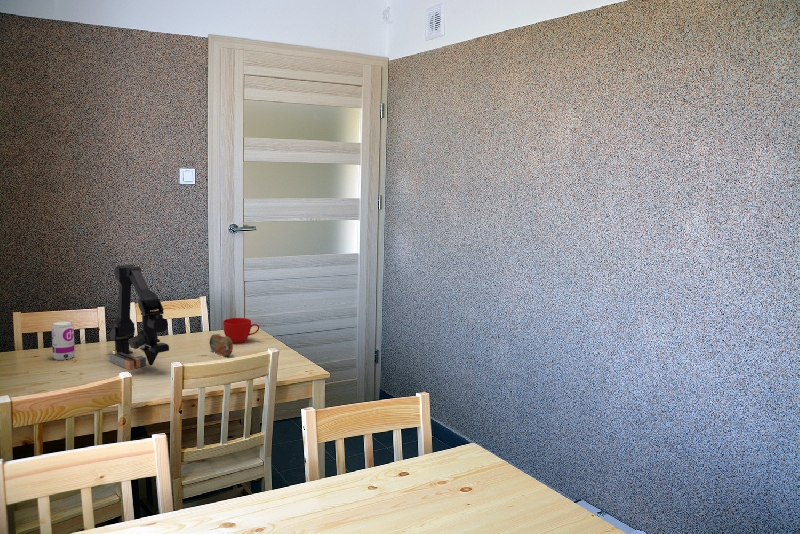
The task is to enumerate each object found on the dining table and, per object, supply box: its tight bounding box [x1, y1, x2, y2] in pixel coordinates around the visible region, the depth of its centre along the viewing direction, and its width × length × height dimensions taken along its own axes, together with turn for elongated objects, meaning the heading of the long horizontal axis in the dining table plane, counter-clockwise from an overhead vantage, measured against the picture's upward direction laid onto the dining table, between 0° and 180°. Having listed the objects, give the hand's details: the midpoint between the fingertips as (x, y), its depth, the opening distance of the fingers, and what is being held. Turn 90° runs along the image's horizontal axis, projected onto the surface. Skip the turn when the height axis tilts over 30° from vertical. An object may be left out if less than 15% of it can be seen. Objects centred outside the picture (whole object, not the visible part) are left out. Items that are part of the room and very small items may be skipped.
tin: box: [209, 333, 234, 357], centre depth 298 cm, size 15×3×8 cm, turn 47°
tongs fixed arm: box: [109, 349, 135, 371], centre depth 278 cm, size 18×3×4 cm, turn 50°
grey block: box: [135, 355, 147, 368], centre depth 277 cm, size 4×3×3 cm
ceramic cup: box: [222, 317, 260, 344], centre depth 319 cm, size 13×17×10 cm
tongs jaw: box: [117, 352, 141, 369], centre depth 278 cm, size 14×2×3 cm, turn 52°
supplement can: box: [51, 320, 76, 361], centre depth 283 cm, size 8×8×15 cm
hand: (150, 365), depth 273 cm, fingers closed
